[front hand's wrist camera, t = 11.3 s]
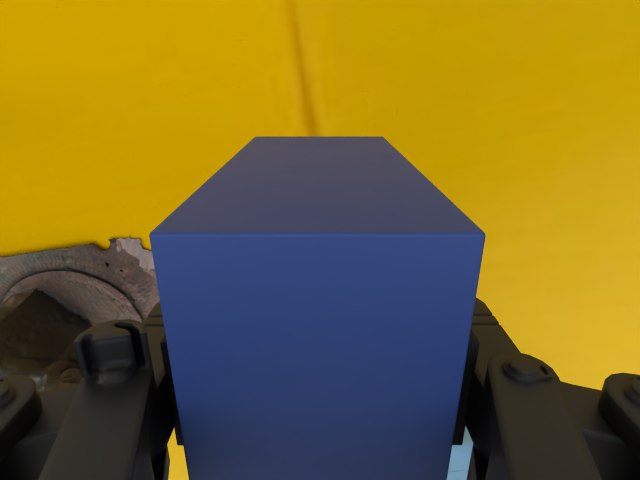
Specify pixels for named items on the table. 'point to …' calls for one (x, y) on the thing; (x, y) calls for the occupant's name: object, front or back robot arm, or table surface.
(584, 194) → the table surface
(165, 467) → the front robot arm
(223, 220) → the brick
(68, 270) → the hat
